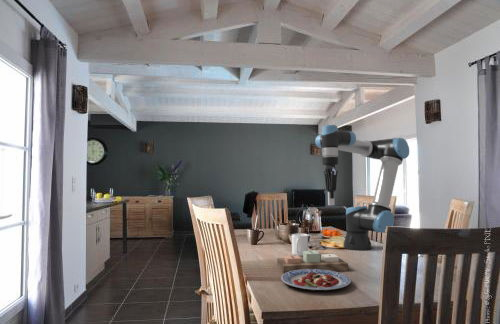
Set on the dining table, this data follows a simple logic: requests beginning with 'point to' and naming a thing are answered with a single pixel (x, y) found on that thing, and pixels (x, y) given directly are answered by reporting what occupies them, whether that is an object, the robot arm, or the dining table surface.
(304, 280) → the ceramic plate
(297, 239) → the cup
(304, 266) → the button board
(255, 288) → the dining table surface
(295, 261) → the tile three
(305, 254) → the tile two
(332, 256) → the tile one
